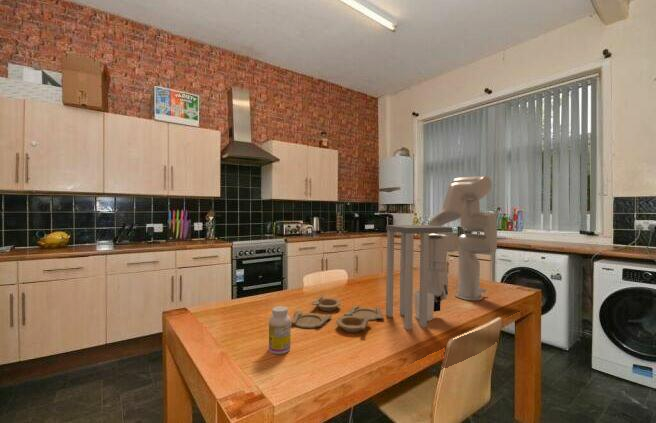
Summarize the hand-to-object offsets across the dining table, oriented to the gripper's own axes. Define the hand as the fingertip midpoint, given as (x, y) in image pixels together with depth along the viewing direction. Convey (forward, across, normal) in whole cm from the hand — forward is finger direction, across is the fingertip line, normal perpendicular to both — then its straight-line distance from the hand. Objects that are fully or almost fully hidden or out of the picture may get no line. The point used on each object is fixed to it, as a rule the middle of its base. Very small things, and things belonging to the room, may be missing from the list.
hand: (435, 310), depth 121 cm
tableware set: (+3, -11, -38) cm, 40 cm away
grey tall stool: (+3, 0, -9) cm, 10 cm away
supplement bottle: (+3, +8, -65) cm, 66 cm away
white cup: (+3, -1, -5) cm, 6 cm away
